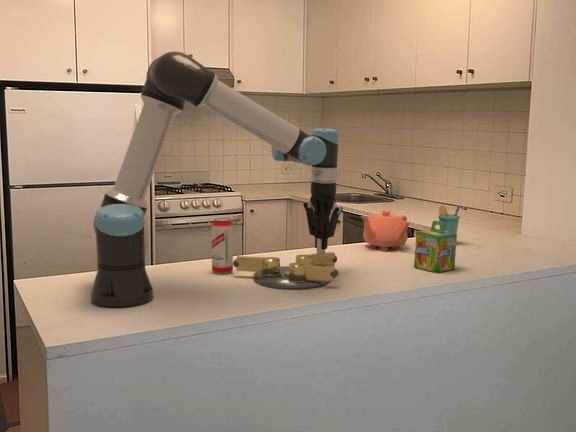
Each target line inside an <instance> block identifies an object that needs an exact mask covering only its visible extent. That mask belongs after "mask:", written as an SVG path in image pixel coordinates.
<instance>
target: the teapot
mask: <svg viewBox="0 0 576 432" xmlns="http://www.w3.org/2000/svg"><path fill="white" fill-rule="evenodd" d="M360 218H362V220H363V234H362V235H363V236H362V238H363V240H364V241H365V243H366V244H368V246H367V247H368V249H369V248H370V249H375V248H376V247H380V249H379V251H382V252H388V251H389V248H394V250H395V249H396V250H402V247H401V246H405V244H406V243H407V242H408V228H409V226H410V222H409V221H407V219H408V217H407V216H406V215H403V214H402V215H397V214H391V210H387V209H384V210H381V213H376V214H374V213H372V214H369V215H368V216H363V215H362V216H361V215H360Z"/></svg>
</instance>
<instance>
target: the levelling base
mask: <svg viewBox="0 0 576 432" xmlns="http://www.w3.org/2000/svg"><path fill="white" fill-rule="evenodd" d="M253 282H254V283H256V284H257V285H259V286H262V287H267V288H271V289H276V290H290V291H292V290H297V291H298V290H311V289H315V288H320V287H323V286H326V285H328V284H330V282H331V281H322V280H309V279H307V280H304V281H293V280H290V279H289V266H288V265H286V266H285V265H284V266H280V273H279V274H274V275H268V274H264V273H262V272H253Z"/></svg>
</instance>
